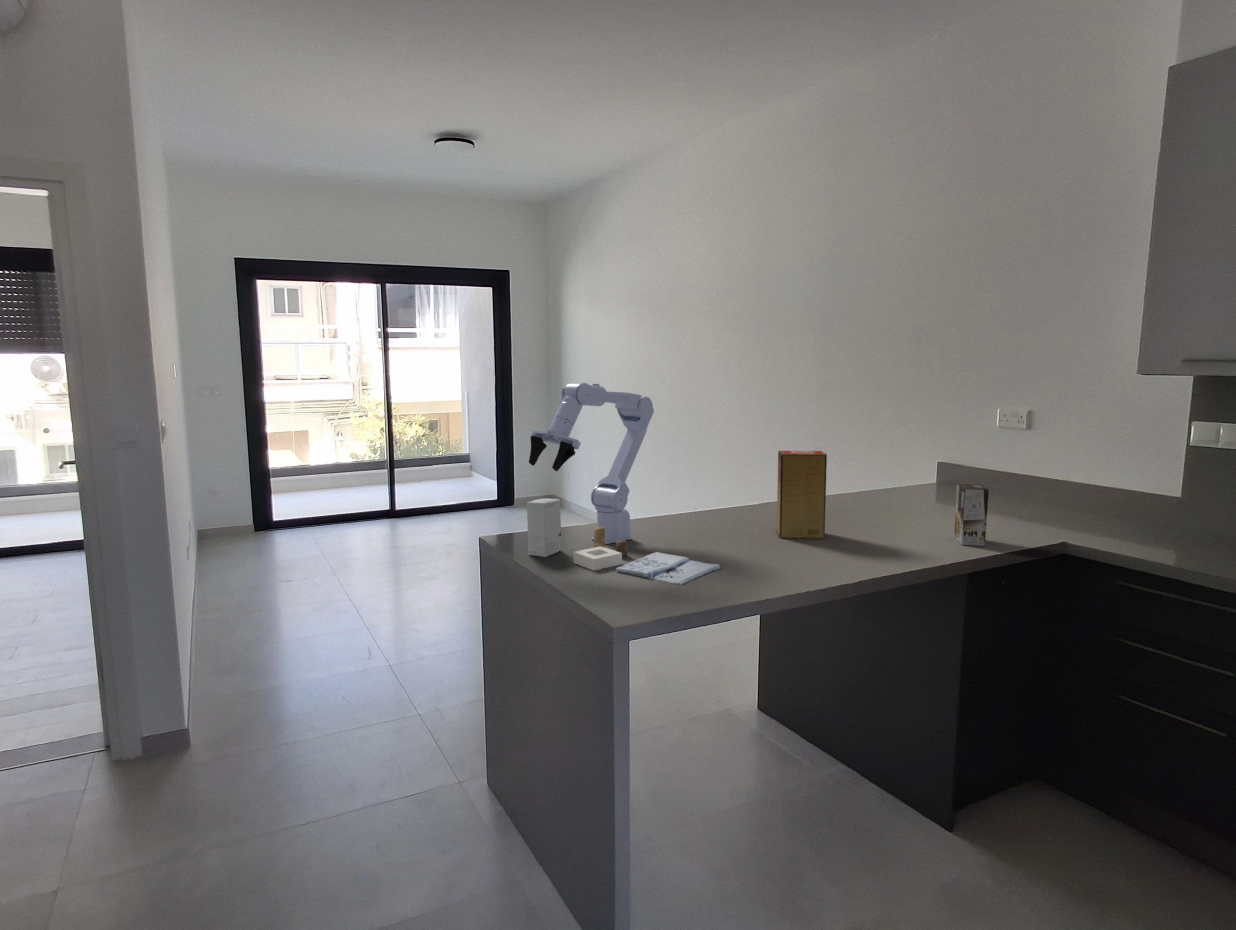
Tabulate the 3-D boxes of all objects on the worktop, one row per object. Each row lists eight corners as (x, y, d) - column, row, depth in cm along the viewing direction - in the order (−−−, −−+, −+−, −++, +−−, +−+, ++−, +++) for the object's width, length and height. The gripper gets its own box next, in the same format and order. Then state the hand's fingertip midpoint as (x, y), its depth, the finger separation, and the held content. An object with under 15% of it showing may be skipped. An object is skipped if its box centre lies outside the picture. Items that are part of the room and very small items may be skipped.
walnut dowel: (622, 553, 202) (622, 539, 201) (629, 556, 200) (629, 541, 199) (613, 555, 200) (613, 541, 200) (620, 558, 198) (620, 543, 197)
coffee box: (986, 546, 205) (989, 489, 203) (961, 545, 207) (964, 488, 204) (977, 538, 214) (980, 483, 212) (953, 537, 215) (956, 483, 213)
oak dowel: (600, 551, 205) (600, 526, 204) (607, 553, 202) (607, 528, 201) (592, 553, 203) (591, 528, 202) (598, 555, 201) (598, 530, 200)
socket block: (601, 557, 199) (601, 546, 198) (622, 564, 192) (621, 553, 191) (573, 563, 193) (573, 551, 193) (593, 570, 186) (593, 559, 186)
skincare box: (545, 558, 199) (543, 503, 196) (527, 555, 202) (525, 501, 199) (562, 550, 206) (561, 498, 204) (544, 548, 209) (543, 496, 207)
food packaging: (820, 531, 224) (822, 450, 221) (825, 539, 215) (828, 454, 212) (775, 531, 226) (777, 449, 222) (779, 538, 217) (780, 454, 213)
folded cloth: (658, 557, 200) (658, 549, 200) (723, 570, 187) (723, 562, 187) (613, 573, 185) (613, 565, 185) (680, 589, 173) (680, 580, 172)
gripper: (535, 410, 199) (513, 454, 194) (580, 419, 192) (559, 465, 187) (546, 423, 204) (526, 466, 200) (590, 432, 198) (570, 477, 193)
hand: (542, 466), depth 194 cm, fingers open, 7 cm apart
